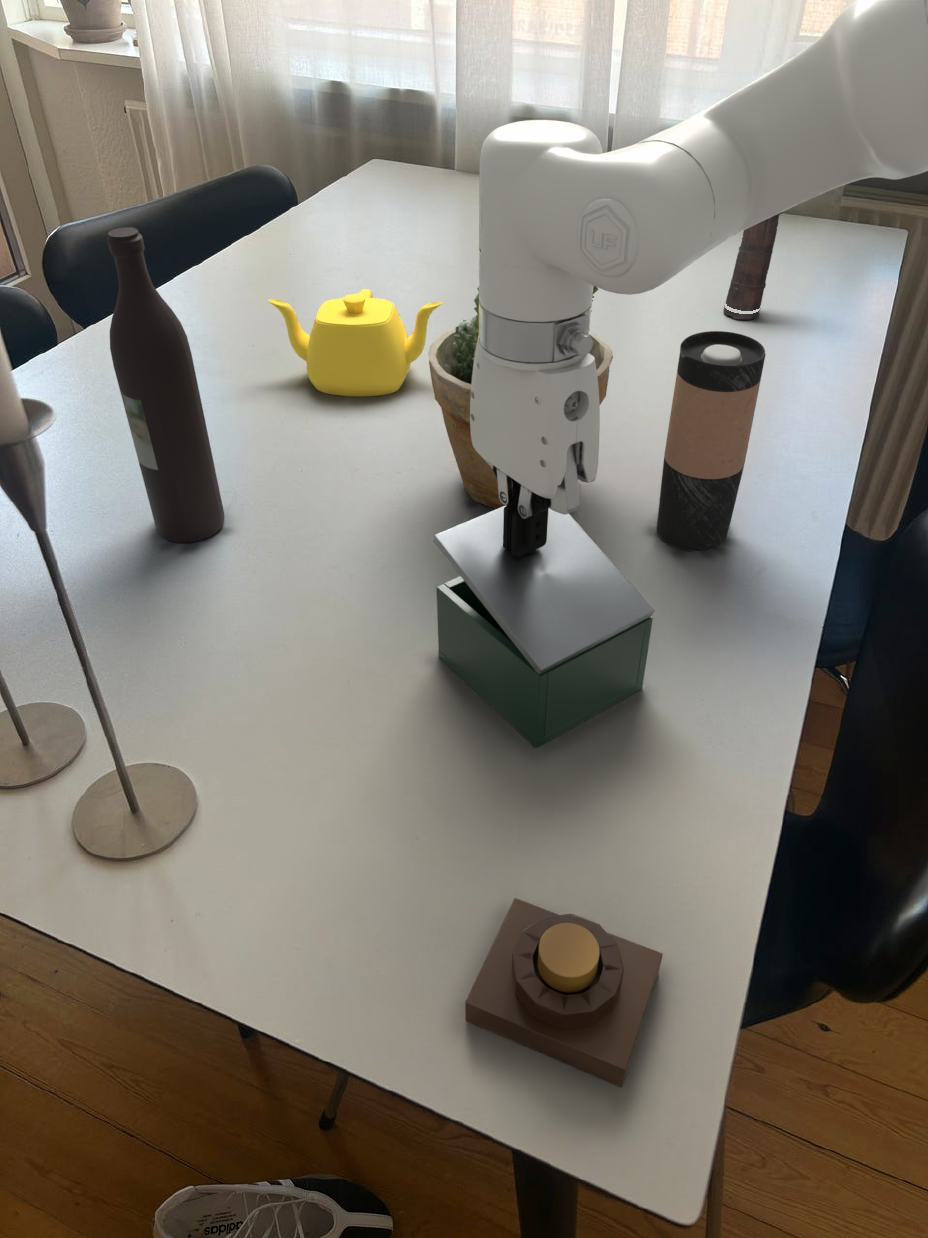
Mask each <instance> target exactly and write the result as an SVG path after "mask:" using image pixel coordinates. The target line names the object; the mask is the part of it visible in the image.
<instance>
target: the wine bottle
mask: <svg viewBox="0 0 928 1238" xmlns="http://www.w3.org/2000/svg"><path fill="white" fill-rule="evenodd" d="M107 235H108V237H107V238H106V240H107V246H108V250H109V253H110V254H111V255H112V256H113V259H114V263H115V269H116V273H117V280H118V281H117V282H118V292H117V298H116V304H115V307H114V310H113V314H112V317H111V322H110V326H109V350H110V355H111V360H112V365H113V369H114V373H115V377H116V380H117V384H118V388H119V392H120V396H121V400H122V405H123V407H124V412H125V415H126V419H127V423H128V426H129V430H130V435H131V438H132V442H133V446H134V450H135V453H136V457H137V461H138V464H139V465H138V466H139V468H140V469H139V470H140V472H141V476H142V480H143V484H144V488H145V491H146V495H147V500H148V502H149V503H148V504H149V506H150V510H151V515H152V518H153V522H154V526H155V529H156V530H157V532H158V534H159V535H160V536H161V537H162V538H163V539H165V540H167V541H169V542H174V543H182V544H184V543H185V544H186V543H195V542H199V541H202V540H205V539H208V538H210V537H212V536H214V535H215V534H216V533H217V532H219V531H220V530H221V529H222V527H223V525H224V523H225V511H224V506H223V501H222V496H221V491H220V486H219V482H218V477H217V472H216V467H215V462H214V457H213V452H212V447H211V442H210V438H209V437H210V436H209V431H208V428H207V423H206V418H205V413H204V408H203V403H202V398H201V394H200V389H199V384H198V379H197V374H196V369H195V363H194V360H193V359H194V358H193V355H192V349H191V346H190V343H189V339H188V335H187V333H186V331H185V328H184V326H183V325H182V322H181V321H180V319H179V318H178V316H177V315H176V313H175V312H174V311H173V309H172V307H170V306H169V304H168V303H167V302H166V300H165V299H164V298H163V297H162V296H161V294H160V293H159V291H158V290H157V289H156V287H155V286H154V285H153V282H152V279H151V277H150V274H149V271H148V269H147V264H146V260H145V254H144V251H145V249H146V247H145V244H144V237H143V235H142V234H141V233H140V232H139V229H138V228H136V227H131V226H130V227H129V226H128V227H127V226H125V227H118V228H114V229H111V230H110V231H108V233H107Z"/></svg>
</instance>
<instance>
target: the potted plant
mask: <svg viewBox="0 0 928 1238" xmlns="http://www.w3.org/2000/svg"><path fill="white" fill-rule="evenodd" d="M599 289H600V288H598V287H596V286H594V285H593V296H592V303H593V302H594V298H595V296H594V294H596V292H598V291H599ZM477 292H478V293H477V294H476V295H475V297H474V299H473V301H474V304H475V307H473V310H474V311H475V312H476V315H475V316H473V317H470V318H468V319H462V322H460V323H459V324H458V325H457V326H455V328H452V329H449V330H447V331H446V332H444V333H443V334H441V335H440V336H438V337H437V338H435V340H434V341H433V342H432V343H431V345H430V346H429V350H428V352H427V358H428V364H429V373H430V379H431V384H432V391H433V395H434V399H435V401H436V402H437V404H438V405H439V407H440V409H441V413H442V419H443V423H444V426H445V431H446V434H447V437H448V441H449V443H450V446H451V447H450V448H451V449H452V453H453V456H454V459H455V463H456V465H457V468H458V471H459V475H460V478H461V481H462V483H463V487H464V488H465V489H464V490H465V491H466V492H467V494H468V495H469V496H470V498H471V499H472V501H473V502H476V503H479V504H481V505H484V506H488V507H490V508H492V509H494V510H496V509H498V508H501V507H503V506H505V505H504V504H503V503H502V502H501V501H500V498H499V492H498V480H497V478H496V475H495V473H494V472H493V469H492V468H491V466H490V465H489V464H488V463H487V462H486V461H485V460H484V459H483V458H482V457H481V455H480V454H479V453H478V452H477V451H476V450H475V448H474V447H473V445H472V440H471V431H470V399H471V383H472V373H473V364H474V357H475V351H476V345H477V340H478V335H479V286H477ZM592 312H593V309H591V313H592ZM589 337H591V338H592V340H593V346H592V349H591V351H590V352H589V353H590V354H591V355H592V356H594V358H595V364H596V370H597V378H598V387H599V405H600V406H601V405H602V403H603V401H604V400H605V398H606V396H607V390H608V385H609V378H610V366H611V364H612V361H613V359H614V355H613V353H614V352H613V350H612V349H611V346H610V345H609V344H608V343H606V342H605V341H604V340H603V339H602V338H601V337H599V336H598V335H597V334H596V333H594V332H593V331H591V330H590V332H589Z"/></svg>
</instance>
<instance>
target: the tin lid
mask: <svg viewBox="0 0 928 1238" xmlns="http://www.w3.org/2000/svg"><path fill="white" fill-rule="evenodd" d="M504 507H506V505H505V506H503V507H501V508H498V509H494V510H492V511H489V512H487V513H484V514H482V515H479V516H477V517H474V518H472V519H469V520H467V521H465V522H463V523H460V524H457V525H454V526H453V527H451V528H448V529H445V530H443V531H441V532H439V533H436V534H434V536H433V540H432V542H433V543H434V545H435V546H436V547H437V548H438V550H439V552H441V553H442V554H443V556H444V557H445V558H446V560H447V561H448V562H449V564H450V565H451V566H452V567H453V568H454V570H455V571H456V573H457V574H458V575H459V576H461V577H462V578H463V580H464V581H465V582H466V584H467V585H468V586H469V587H470V589H471V590H472V591H473V592H474V594H475V595H476V596H477V597H478V599H479V600H480V601H481V603H482V604H483V605H484V606H485V608H486V609H487V610H488V611H489V613H490V614H491V615H492V616H493V618H494V619H495V620H496V622H497V623H498V624H499V625H500V627H501V628H502V629H503V630H504V632H505V633H506V634H507V635H508V637H509V638H510V639H511V641H512V642H513V643H514V644H515V646H516V647H517V648H518V649H519V651H520V652H521V653H522V654H523V656H524V657H525V658H526V660H527V661H528V662H529V663H530V665H531V666H532V667H533V668H534V670H535V671H536V672H537V673H538V675H541V674H543V673H544V672H546V671H548V670H550V669H552V668H554V667H556V666H558V665H560V664H562V663H564V662H565V661H567V660H569V659H571V658H573V657H575V656H577V655H579V654H581V653H583V652H584V651H586V650H588V649H590V648H592V647H594V646H596V645H598V644H600V643H602V642H603V641H605V640H607V639H609V638H611V637H613V636H615V635H617V634H619V633H621V632H623V631H624V630H626V629H628V628H630V627H632V626H634V625H636V624H638V623H640V622H642V621H643V620H645V619H647V618H649V617H653V615H654V613H655V611H656V610H655V609H654V608H653V607H652V605H651V604H650V603H649V602H648V601H647V600H646V598H644V597H643V595H642V594H641V593H640V591H638V589H637V588H636V587H635V586H634V585H633V583H631V581H629V579H628V578H627V577H626V576H625V575H624V574H623V572H622V571H621V570H619V568H618V567H617V566H616V565H615V563H614V562H613V561H612V560H611V559H610V558H609V557H608V556H607V555H606V554H605V552H604V551H603V550H602V549H601V548H600V546H598V544H597V543H596V542H595V540H593V539H592V538H591V536H589V534H588V533H587V532H586V531H585V529H584V528H582V526H581V525H580V524H579V523H578V522H577V521H576V520H575V518H574V517H573V516H572V515H571V513H569V514H566V515H564V514H561V513H558V512H555V511H553V510H551V509H550V508H549V510H548V526H547V541H546V544H545V545H544V546H543V547H540V548H538V549H536V550H534V551H532V552H529V553H527V554H525V555H523V556H520V557H515V556H514V555H513V554H512V553H511V551H508V550H506V549H505V548H504V547H503V524H504Z"/></svg>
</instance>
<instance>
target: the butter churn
mask: <svg viewBox="0 0 928 1238" xmlns="http://www.w3.org/2000/svg"><path fill="white" fill-rule="evenodd" d="M783 213H784V211H783V212H781V213H779V214H777V215H775V216H773V217H770V218H768V219H766V220H764V221H762V222H760V223H758V224H756V225H754V226H752V227H750V228H748V229H746V230H744V231H742V237H741V242H740V246H739V247H738V253H737V255H736V260H735V263H734V269H733V273H732V276H731V279H730V285H729V288H728V292H727V296H726V300H725V303H726V304H727V306H729V307H731V308H733V309H737V310H741V311H753V310H756V309H759V308H760V310H759V311H758V312H756V313H753V314H739V313H734V312H731V311H729V310H727V309H726V308H725V305H724V307H723V314H724V315H725V316H729V317H732V319H735V320H747V321H748V320H754V319H757V318H758V316H759V315H760V311H761V307H760V306H762V301H763V296H764V292H765V288H766V285H767V277H768V272H769V269H770V266H771V265H770V264H771V260H772V255H773V253H774V252H773V251H774V246H775V241H776V238H777V233H778V225H779V219H780V215H782V214H783Z"/></svg>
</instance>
